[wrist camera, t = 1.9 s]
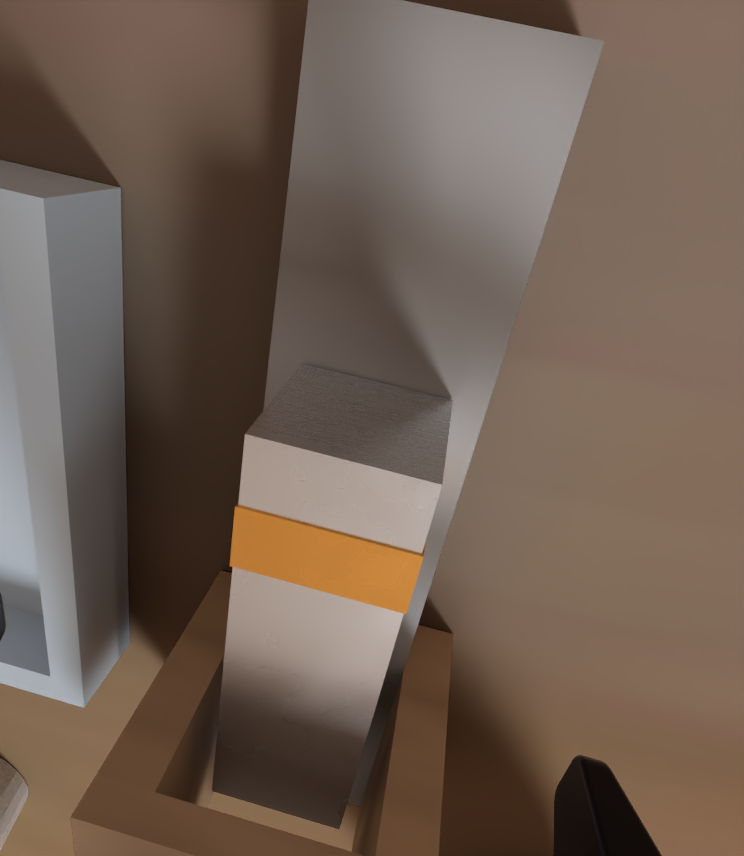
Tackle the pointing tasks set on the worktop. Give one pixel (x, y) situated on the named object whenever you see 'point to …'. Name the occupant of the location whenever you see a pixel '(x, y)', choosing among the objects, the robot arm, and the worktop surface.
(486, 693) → the worktop surface
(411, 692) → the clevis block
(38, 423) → the tray
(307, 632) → the beige and orange bar
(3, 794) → the house plant
